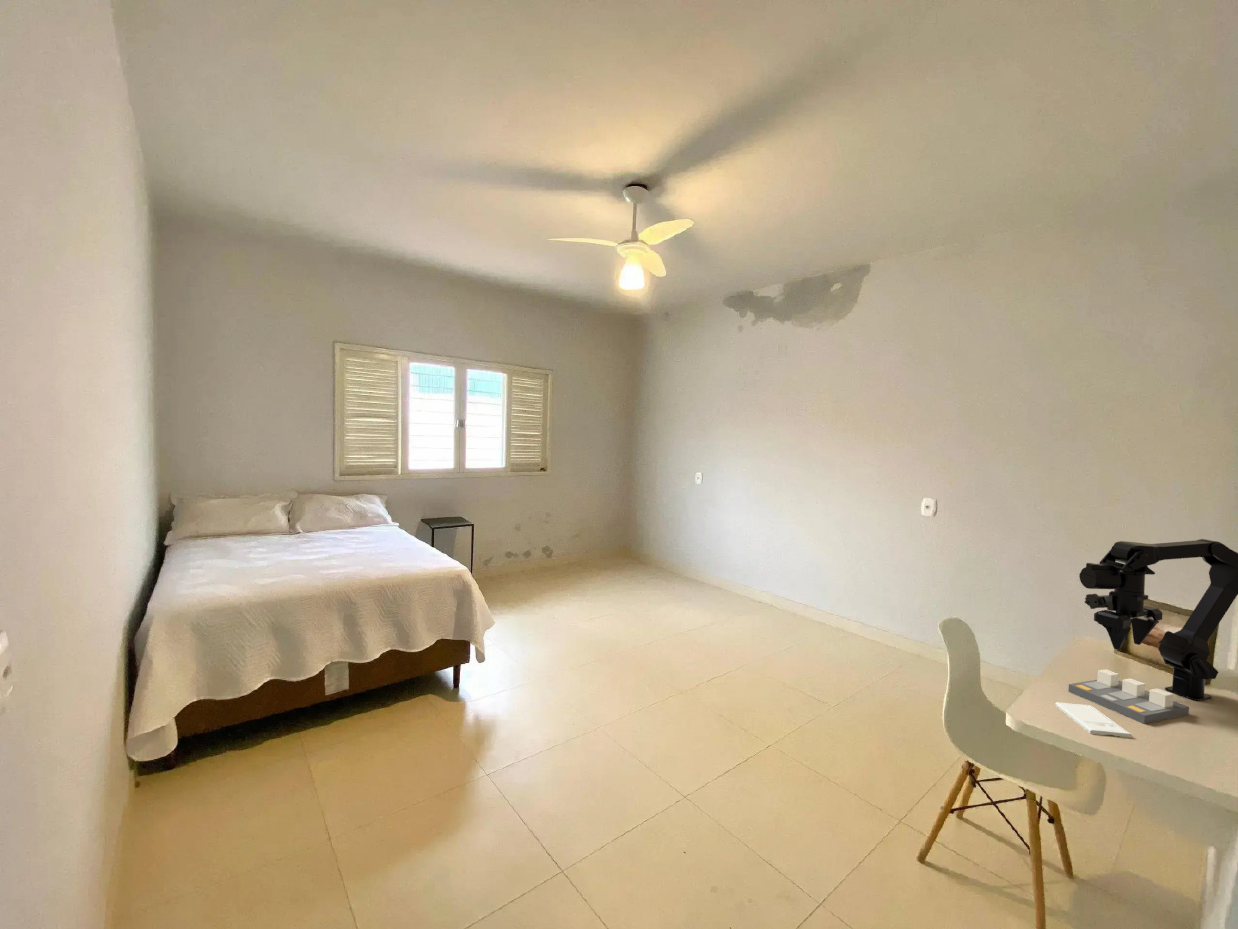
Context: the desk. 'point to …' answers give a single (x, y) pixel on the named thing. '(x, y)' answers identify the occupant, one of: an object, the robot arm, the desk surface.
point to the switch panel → (1127, 702)
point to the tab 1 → (1108, 677)
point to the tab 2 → (1133, 687)
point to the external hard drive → (1092, 720)
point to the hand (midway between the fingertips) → (1127, 646)
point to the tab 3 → (1161, 697)
